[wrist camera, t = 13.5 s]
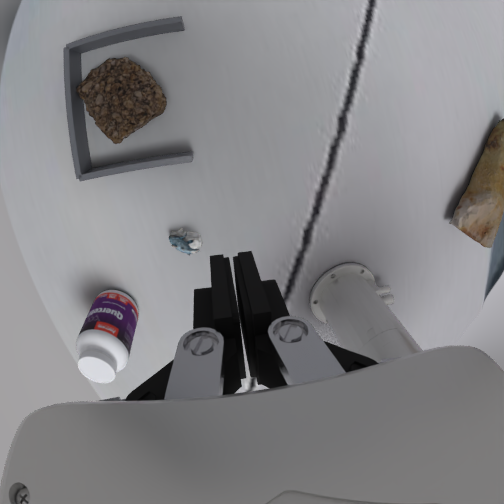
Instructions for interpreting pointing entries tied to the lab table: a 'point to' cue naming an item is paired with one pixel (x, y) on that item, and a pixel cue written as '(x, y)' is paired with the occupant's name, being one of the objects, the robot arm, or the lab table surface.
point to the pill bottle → (107, 336)
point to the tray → (77, 107)
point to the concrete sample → (121, 97)
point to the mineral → (484, 193)
